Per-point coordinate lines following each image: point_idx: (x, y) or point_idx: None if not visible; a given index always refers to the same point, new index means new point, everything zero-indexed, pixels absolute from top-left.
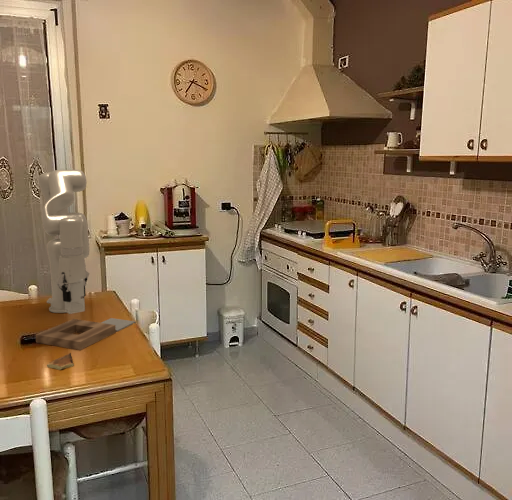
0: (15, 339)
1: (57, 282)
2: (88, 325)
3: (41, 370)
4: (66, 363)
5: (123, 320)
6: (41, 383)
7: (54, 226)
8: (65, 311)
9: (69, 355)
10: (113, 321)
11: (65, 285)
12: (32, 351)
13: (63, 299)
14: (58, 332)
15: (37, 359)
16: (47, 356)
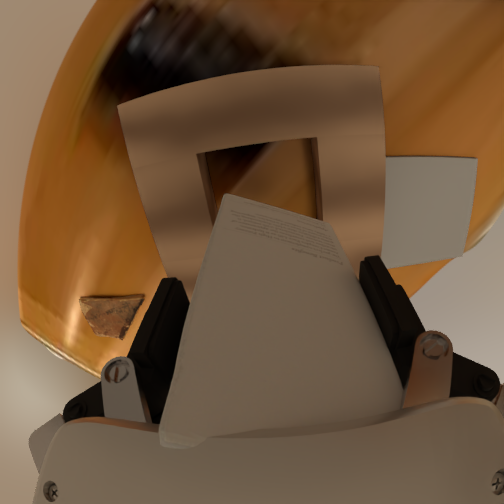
0: (114, 18)
1: (36, 450)
2: (335, 202)
3: (69, 299)
4: (109, 333)
5: (466, 217)
6: (61, 333)
7: None
8: (223, 196)
9: (133, 309)
10: (453, 192)
11: (147, 418)
12: (85, 178)
13: (161, 287)
14: (190, 162)
15: (76, 244)
16: (99, 249)
